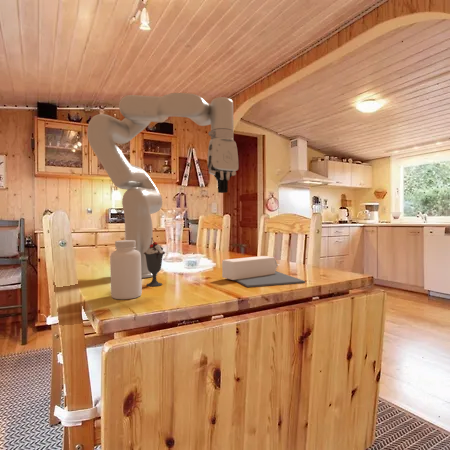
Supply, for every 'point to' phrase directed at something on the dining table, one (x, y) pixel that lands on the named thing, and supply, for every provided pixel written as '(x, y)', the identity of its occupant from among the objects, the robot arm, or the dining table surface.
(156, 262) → the sundae
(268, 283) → the slate mat
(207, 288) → the dining table surface
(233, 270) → the milk
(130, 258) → the pill bottle
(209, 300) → the dining table surface
